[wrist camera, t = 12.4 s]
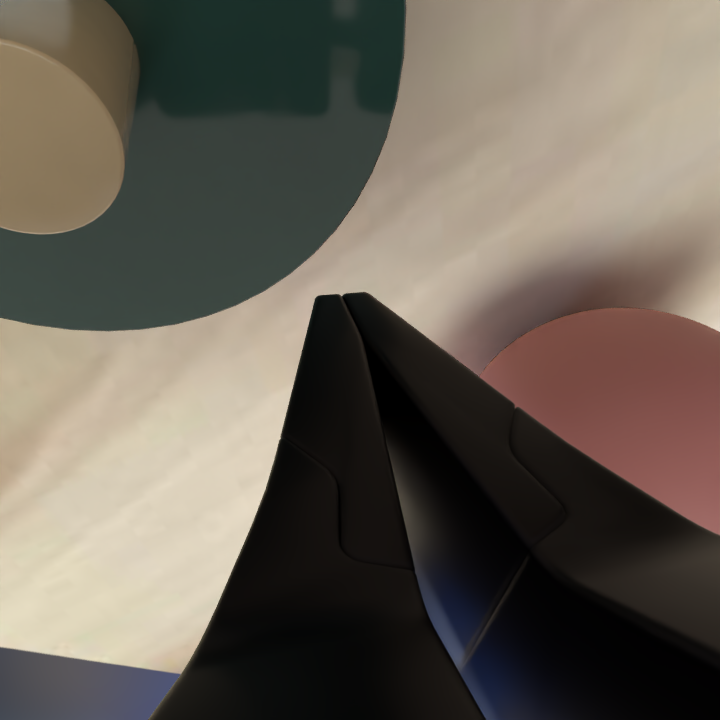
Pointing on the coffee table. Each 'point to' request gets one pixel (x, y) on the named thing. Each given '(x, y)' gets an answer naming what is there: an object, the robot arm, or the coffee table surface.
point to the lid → (181, 149)
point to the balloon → (627, 398)
